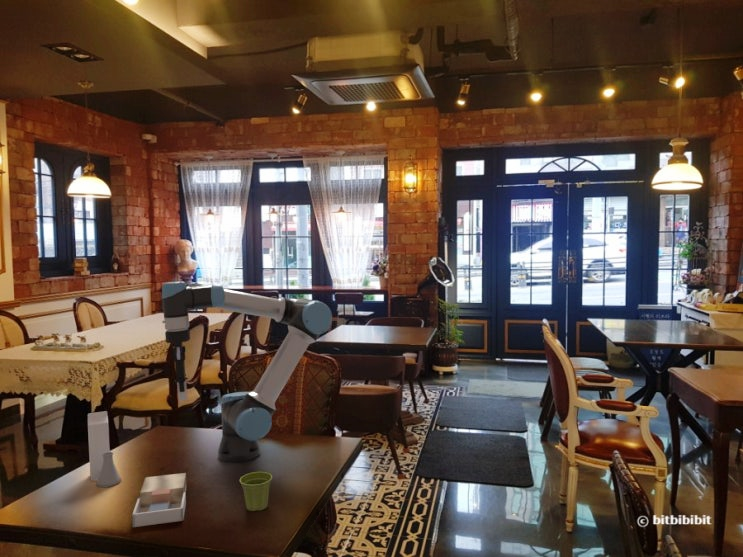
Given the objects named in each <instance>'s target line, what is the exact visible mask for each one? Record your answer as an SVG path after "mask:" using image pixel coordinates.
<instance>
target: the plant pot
mask: <svg viewBox="0 0 743 557" xmlns="http://www.w3.org/2000/svg"><path fill="white" fill-rule="evenodd" d="M238 480H239V481H238V482H239V483H240V484H241V488H242V490H243V496H244V497H243V498H244V501H245V508H246V509H247V510H248V511H250V512H255V511H262V510H265V509H267V507H268V505H269V495H270V486H271V481H272V480H273V475H272V474H271V473H269V472H266V471H253V472H249V473H245V474H244V475H243V476H240V479H238Z"/></svg>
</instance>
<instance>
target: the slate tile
mask: <svg viewBox="0 0 743 557" xmlns="http://www.w3.org/2000/svg"><path fill="white" fill-rule="evenodd" d="M166 509H170V503H169V502H162V503H153V504H151V505H150V508H149V511H148V512H151V511H159V510H166Z"/></svg>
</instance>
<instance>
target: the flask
mask: <svg viewBox="0 0 743 557" xmlns="http://www.w3.org/2000/svg"><path fill="white" fill-rule="evenodd" d="M113 455H114V451H110V452H105V453H103V454H102V456H103V466H102V469H101V472H100V475H99V478H98V480H96V481H97V482H96V484H95V486H97V487H100V488H107V487H113V486H115V485H118V484H119V483H121V481H122V478H121V475H120V473H119V472H118V470H117V467H116V465H115V463H114V458H113Z"/></svg>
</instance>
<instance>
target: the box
mask: <svg viewBox="0 0 743 557" xmlns="http://www.w3.org/2000/svg"><path fill="white" fill-rule="evenodd" d="M186 492H187V491H186ZM186 492H185V493H183V498H182V503H176V504H171V509H166V510H159V511H151V512H148V511H149V508H150V507H145V508H141V499H140V497H138V498H137V499H136V503H135V506H134V509H133V512H132V514H131V518H132V519H131V520H132V528H137V527H145V526H153V525H158V524H167V523H177V522H184V520H185V514H186V513H185V512H186V505H187V499H186V498H187V495H186V494H187V493H186Z"/></svg>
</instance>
